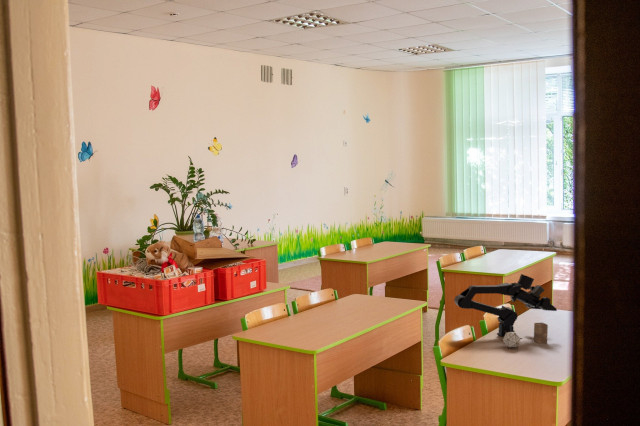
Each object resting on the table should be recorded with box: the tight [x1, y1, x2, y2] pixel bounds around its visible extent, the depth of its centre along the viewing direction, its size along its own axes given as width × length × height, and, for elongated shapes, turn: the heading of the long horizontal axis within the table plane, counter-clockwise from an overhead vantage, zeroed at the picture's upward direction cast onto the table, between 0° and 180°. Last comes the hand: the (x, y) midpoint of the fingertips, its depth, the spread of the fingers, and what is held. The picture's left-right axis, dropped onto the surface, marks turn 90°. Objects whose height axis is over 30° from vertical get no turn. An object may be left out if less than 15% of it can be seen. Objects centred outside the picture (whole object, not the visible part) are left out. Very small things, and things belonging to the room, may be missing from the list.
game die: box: [500, 330, 523, 350], centre depth 279 cm, size 9×8×10 cm
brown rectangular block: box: [533, 322, 549, 344], centre depth 290 cm, size 4×4×9 cm
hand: (551, 309), depth 302 cm, fingers open, 9 cm apart
